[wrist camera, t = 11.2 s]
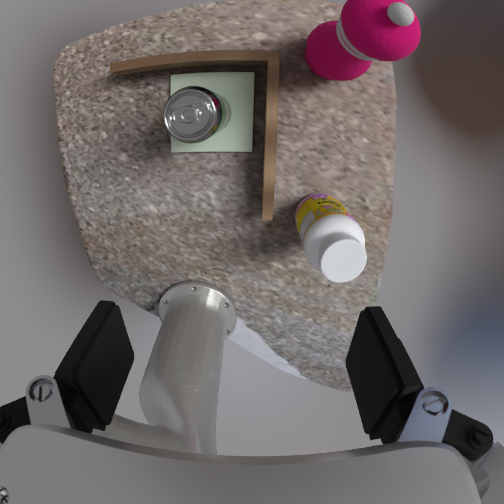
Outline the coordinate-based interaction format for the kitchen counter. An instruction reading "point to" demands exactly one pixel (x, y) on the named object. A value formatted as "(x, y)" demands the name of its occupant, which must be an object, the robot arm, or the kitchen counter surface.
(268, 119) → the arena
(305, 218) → the supplement bottle
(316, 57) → the pepper mill
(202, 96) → the soda can
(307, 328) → the kitchen counter surface
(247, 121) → the pad
